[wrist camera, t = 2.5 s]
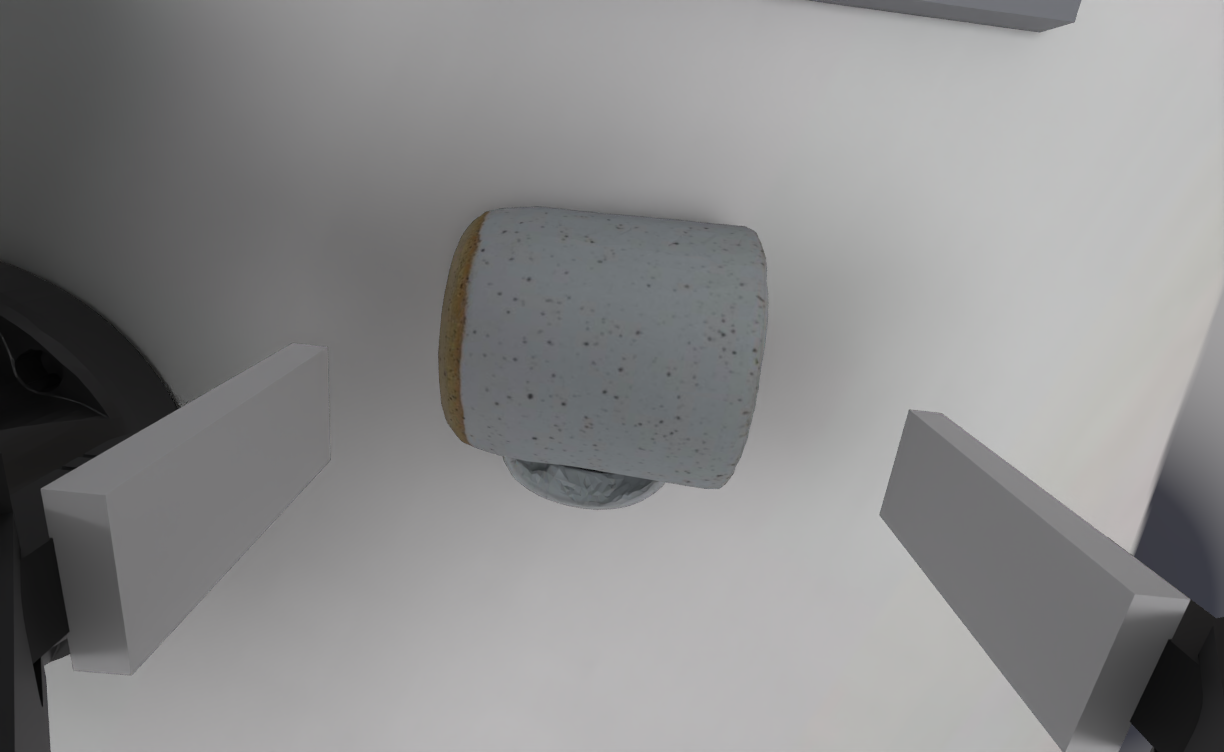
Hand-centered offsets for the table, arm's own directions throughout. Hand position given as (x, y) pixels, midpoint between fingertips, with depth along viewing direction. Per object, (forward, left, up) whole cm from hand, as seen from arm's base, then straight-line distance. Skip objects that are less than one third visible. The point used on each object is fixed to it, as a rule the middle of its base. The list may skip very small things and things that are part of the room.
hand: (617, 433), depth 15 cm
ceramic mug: (0, -1, -9) cm, 9 cm away
